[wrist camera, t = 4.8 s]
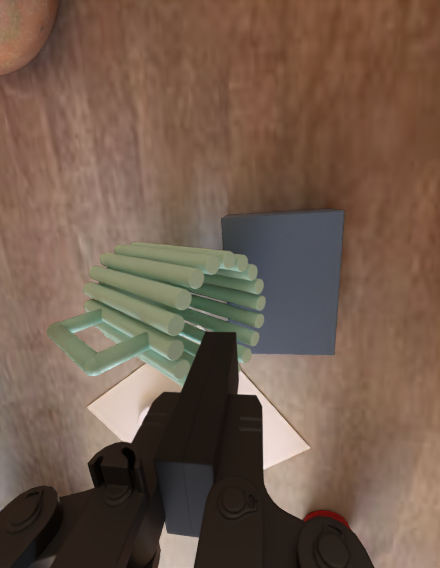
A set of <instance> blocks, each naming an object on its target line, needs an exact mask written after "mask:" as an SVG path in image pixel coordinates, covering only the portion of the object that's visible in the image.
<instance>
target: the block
mask: <svg viewBox="0 0 440 568" xmlns="http://www.w3.org/2000/svg"><path fill="white" fill-rule="evenodd" d="M344 213H345V211H344V210H338V209H331V208H327V209H311V210H296V211H280V212H264V213H249V214H233V215H227V216H225V217H223V218H221V223H222V239H223V250H224V251H231V252H232V253H233V254H241V255H245V256H246V257H247V259H248V264H253V265H255V266H256V267H257V270H258V273H257V277H256V278H258V279H262V280H263V283H264V287H263V290H262V292H261V293H260V294H257V295H262V296H264V297H265V299H266V303H265V307H264V308H263V309H262V310H260V311H259V310H256V309H252V308H248V307H245V306H241V305H237V304H233V303H230V302H227V304H228V305H232V306H236V307H239V308H243V309H246V310H250V311H253V312H257V313H261V314H262V315H263V316H264V323H263V325H262V326H261V327H260V328H255V327H252V326H249V325H246V324H243V323H240V322H237V321H234V320H231V319H228V322H230V323H233V324H236V325H238V326H241V327H244V328H247V329H250V330H253V331H256V332H258V333H259V341H258V343H257V344H256V345H255V346H250V345H248V344H245V343H243V342H240V341H237V344H239V345H242V346H244V347H247V348H249V349H250V350H251V354H291V355H334V354H335V340H336V326H337V312H338V298H339V284H340V269H341V255H342V241H343V227H344ZM226 288H227V287H226ZM230 289H232V288H230ZM235 290H236V289H235ZM239 291H241V290H239ZM244 292H245V291H244ZM248 293H250V292H248ZM253 294H254V293H253Z"/></svg>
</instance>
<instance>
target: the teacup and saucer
mask: <svg viewBox="0 0 440 568" xmlns="http://www.w3.org/2000/svg"><path fill="white" fill-rule="evenodd" d="M150 406H151V404H150V405H148V406H146V407H145V408H143V409H142V410H141V411H140V413H139V414H138V417H137V420H136V427H137V429H139V427H140V425H142V422H143V420H144V418H145V416H146V415H147V412H148V410H149V408H150Z"/></svg>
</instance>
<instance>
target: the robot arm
mask: <svg viewBox="0 0 440 568" xmlns="http://www.w3.org/2000/svg"><path fill="white" fill-rule="evenodd" d="M238 384H239V372H238V354H237V335H236V332H205V334H204V336H203V339H202V341H201V344H200V346H199V348H198V351H197V353H196V356H195V358H194V361H193V363H192V366H191V368H190V370H189V373H188V375H187V378H186V380H185V383H184V385H183V388H182V390H181V392H163V393H162V394H160V395H159V396H158V397H157V398H156V399H155V400H154V401H153V403H152V405H151V406H150V408H149V410H148V412H147V415H146V416H145V418H144V420H143V422H142V425H140V427H139V429H138V431H137V433H136V435H135V437H134V439H133V441H132V443H129V442H118V443H114V444H112V445H109V446H107V447H105V448H103V449H102V450H101V451H99V452H98V453H96V454H95V455H94V457H93V458H92V459H91V460H90V461H89V462H88V467H89V470H90V474H91V477H92V481H93V484H94V487H95V488H93V489H90V490H87V491H84V492H80V493H76V494H72V495H68V496H63V497H58V494H57V492H56V491H55V490H54V489H53V488H52V487H49V486H39V487H35V488H32V489H30V490H28V491H26V492H24V493H22V494H20V495H19V496H18V497H16V498H15V499H14V500H13V501H11V502H10V503H9V504H8V505H7V506H6V507H5V508H4V509H3V510H2V511H0V568H158V564H159V559H160V551H161V549H160V545H159V539H160V536H161V532H162V529H163V525H164V522H165V524H166V529H167V533H169V534H177V535H184V536H192V537H199V542H198V547H197V553H196V558H195V564H194V568H374V566H373V564H372V562H371V560H370V558H369V556H368V554H367V552H366V550H365V548H364V546H363V545H362V543H361V542H360V540H359V539H358V537H357V536H356V534H355V533H354V532H352V531H351V530H350V529H349V528H348V527H347V526H346V525H345V524H344V523H342V522H340V521H338V520H336V519H334V518H331V517H327V516H316V517H313V518H311V519H309V520H307V521H306V522H305V521H303V520H301V519H299V518H297V517H295V516H293V515H291V514H289V513H287V512H286V511H284V510H282V509H281V508H279V507H278V506H277V505H276V504H275V503H274V502H273V501H272V499H271V498H270V496H269V494H268V493H267V490H266V488H265V485H264V474H263V415H262V405H261V403H260V401H259V399H258V397H257V395H246V394H237V393H238Z"/></svg>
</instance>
